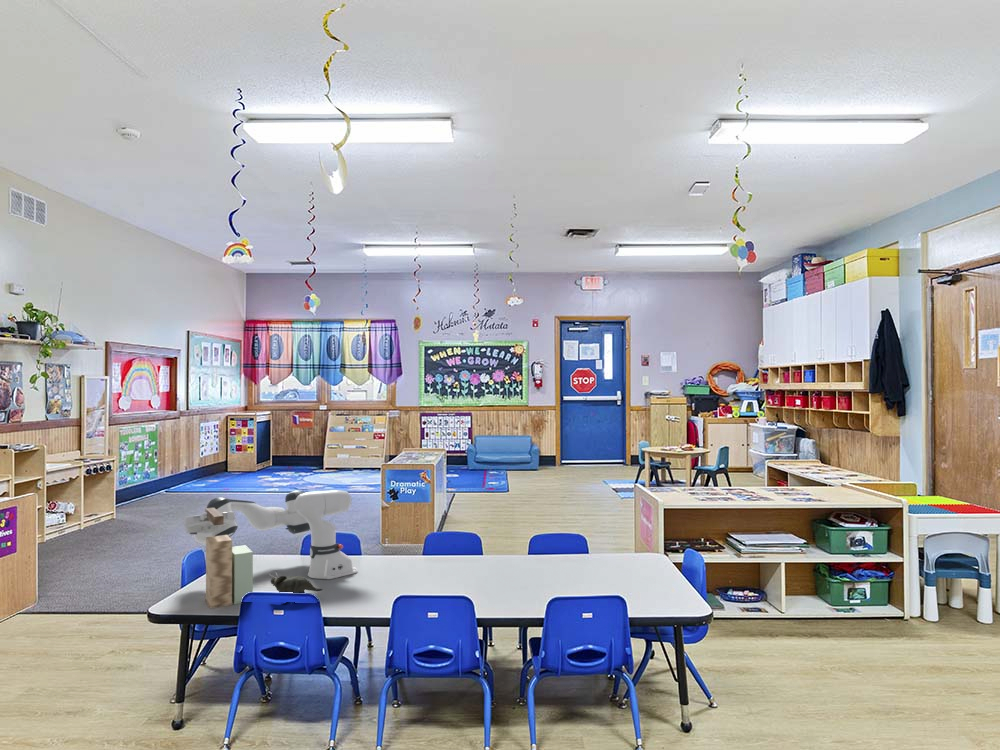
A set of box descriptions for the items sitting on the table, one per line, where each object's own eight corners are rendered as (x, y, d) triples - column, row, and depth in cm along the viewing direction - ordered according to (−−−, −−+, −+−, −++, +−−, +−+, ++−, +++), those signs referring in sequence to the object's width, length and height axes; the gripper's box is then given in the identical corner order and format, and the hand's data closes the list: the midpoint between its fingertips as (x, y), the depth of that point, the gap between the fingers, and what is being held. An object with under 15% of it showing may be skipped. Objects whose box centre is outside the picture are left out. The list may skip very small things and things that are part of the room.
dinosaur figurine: (323, 597, 268) (323, 570, 268) (317, 604, 260) (317, 576, 260) (270, 598, 268) (270, 570, 268) (263, 604, 260) (263, 577, 260)
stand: (227, 596, 270) (227, 534, 270) (232, 604, 260) (232, 540, 261) (205, 600, 265) (205, 537, 266) (210, 608, 256) (210, 542, 256)
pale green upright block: (245, 591, 277) (245, 544, 277) (253, 600, 265) (253, 552, 265) (227, 594, 273) (227, 547, 273) (234, 604, 261) (234, 554, 261)
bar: (214, 515, 280) (214, 507, 280) (223, 524, 262) (223, 515, 262) (205, 516, 278) (205, 508, 278) (214, 525, 260) (214, 516, 260)
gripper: (233, 528, 288) (239, 517, 278) (182, 534, 277) (186, 523, 267) (231, 515, 291) (237, 503, 281) (181, 520, 279) (185, 509, 269)
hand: (212, 513), depth 274 cm, fingers closed on bar, 3 cm apart
